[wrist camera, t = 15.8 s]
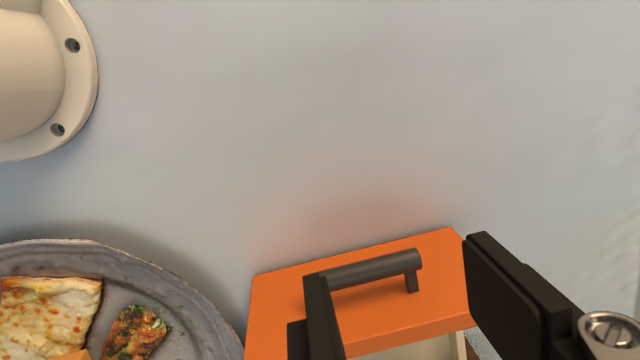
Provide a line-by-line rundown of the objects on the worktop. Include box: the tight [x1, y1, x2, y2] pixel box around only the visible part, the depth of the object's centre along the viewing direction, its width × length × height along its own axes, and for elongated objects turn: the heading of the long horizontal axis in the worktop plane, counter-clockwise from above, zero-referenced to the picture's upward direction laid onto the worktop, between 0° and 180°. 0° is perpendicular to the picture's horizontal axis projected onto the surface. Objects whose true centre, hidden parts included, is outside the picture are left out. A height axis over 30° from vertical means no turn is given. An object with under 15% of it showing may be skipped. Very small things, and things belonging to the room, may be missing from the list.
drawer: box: [244, 227, 478, 360], centre depth 28 cm, size 17×16×10 cm
